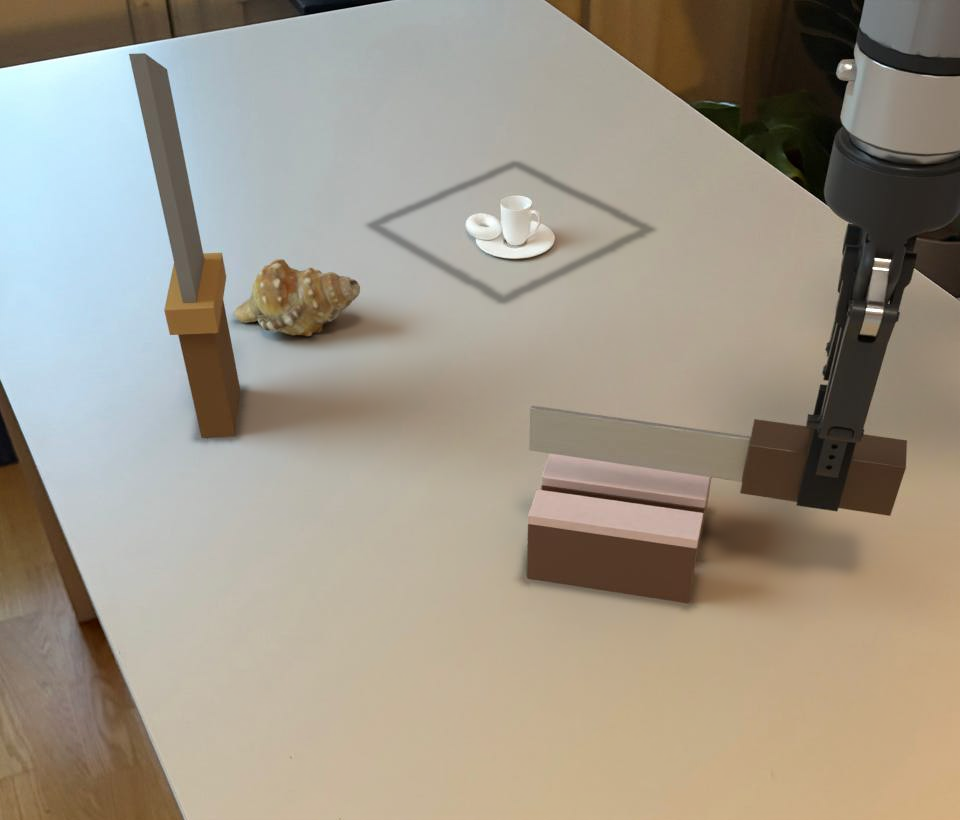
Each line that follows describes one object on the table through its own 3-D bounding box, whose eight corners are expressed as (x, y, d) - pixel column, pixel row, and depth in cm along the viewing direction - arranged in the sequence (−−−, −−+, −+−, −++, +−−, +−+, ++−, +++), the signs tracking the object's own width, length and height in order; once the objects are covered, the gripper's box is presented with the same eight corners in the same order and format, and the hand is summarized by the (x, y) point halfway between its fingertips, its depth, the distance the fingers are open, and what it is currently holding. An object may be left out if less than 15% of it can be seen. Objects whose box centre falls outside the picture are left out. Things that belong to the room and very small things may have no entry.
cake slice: (693, 576, 90) (703, 512, 86) (688, 603, 88) (698, 540, 84) (535, 552, 92) (536, 489, 88) (526, 578, 90) (527, 515, 86)
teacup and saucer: (454, 239, 123) (453, 199, 120) (512, 213, 127) (512, 174, 124) (512, 271, 119) (513, 231, 116) (571, 243, 122) (572, 204, 119)
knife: (239, 443, 102) (163, 57, 79) (195, 445, 102) (106, 60, 79) (246, 385, 107) (177, 9, 84) (204, 387, 107) (123, 11, 84)
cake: (705, 513, 95) (716, 449, 90) (696, 563, 91) (706, 499, 87) (555, 492, 97) (557, 428, 92) (539, 540, 93) (541, 476, 89)
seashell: (331, 327, 119) (369, 251, 111) (319, 386, 115) (357, 311, 107) (240, 287, 116) (273, 206, 108) (224, 346, 112) (256, 266, 104)
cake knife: (891, 488, 83) (907, 439, 80) (890, 516, 81) (906, 467, 78) (534, 436, 87) (535, 388, 84) (524, 461, 85) (526, 413, 82)
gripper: (844, 68, 70) (773, 413, 88) (827, 195, 60) (751, 556, 78) (978, 79, 69) (879, 427, 87) (984, 212, 59) (870, 574, 77)
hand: (819, 487), depth 83 cm, fingers closed on cake knife, 3 cm apart
